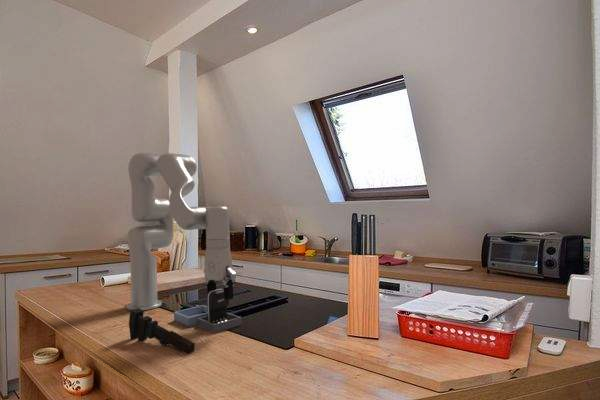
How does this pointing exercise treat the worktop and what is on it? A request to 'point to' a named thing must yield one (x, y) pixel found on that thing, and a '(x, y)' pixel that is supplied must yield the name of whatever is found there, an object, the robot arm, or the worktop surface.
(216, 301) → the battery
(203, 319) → the socket frame
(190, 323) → the parts tray
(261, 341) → the worktop surface
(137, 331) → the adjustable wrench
